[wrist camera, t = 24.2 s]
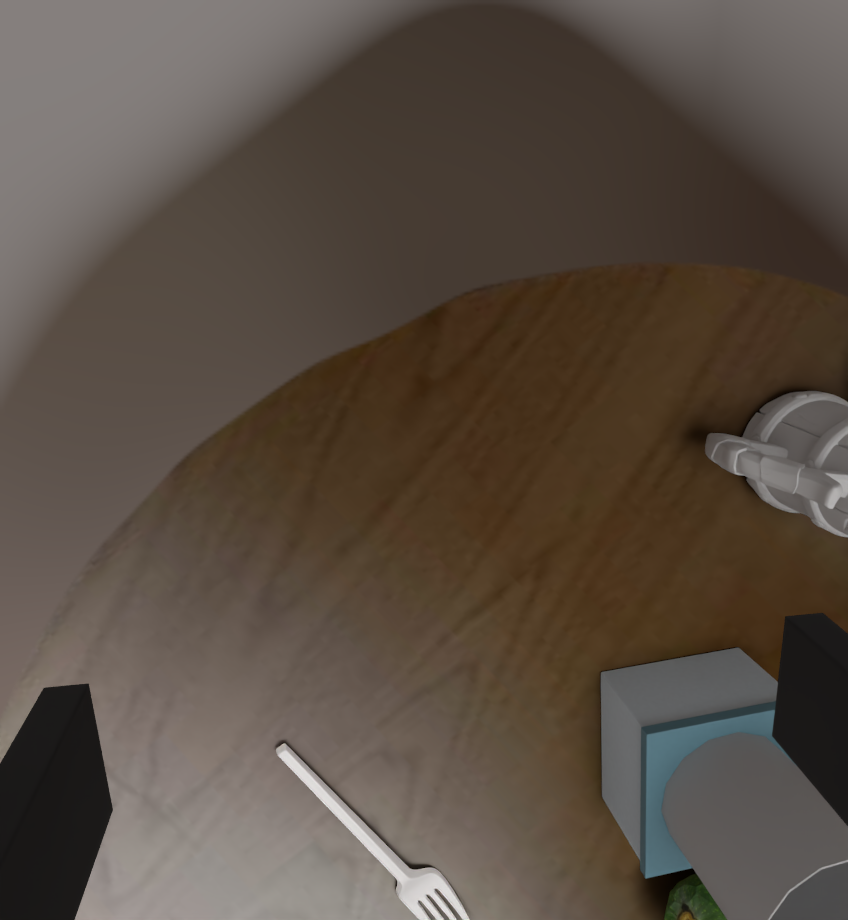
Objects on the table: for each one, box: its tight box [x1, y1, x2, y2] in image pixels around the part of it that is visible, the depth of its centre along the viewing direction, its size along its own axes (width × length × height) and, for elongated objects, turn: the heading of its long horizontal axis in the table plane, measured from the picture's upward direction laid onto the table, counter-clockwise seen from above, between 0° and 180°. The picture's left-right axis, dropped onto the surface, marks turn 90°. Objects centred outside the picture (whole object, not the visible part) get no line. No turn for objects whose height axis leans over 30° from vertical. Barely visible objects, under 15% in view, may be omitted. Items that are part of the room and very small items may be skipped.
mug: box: [705, 391, 848, 537], centre depth 45 cm, size 8×12×12 cm, turn 81°
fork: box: [276, 743, 470, 920], centre depth 53 cm, size 3×20×2 cm, turn 35°
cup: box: [661, 732, 848, 920], centre depth 44 cm, size 8×8×10 cm
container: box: [601, 648, 797, 878], centre depth 52 cm, size 10×10×7 cm
